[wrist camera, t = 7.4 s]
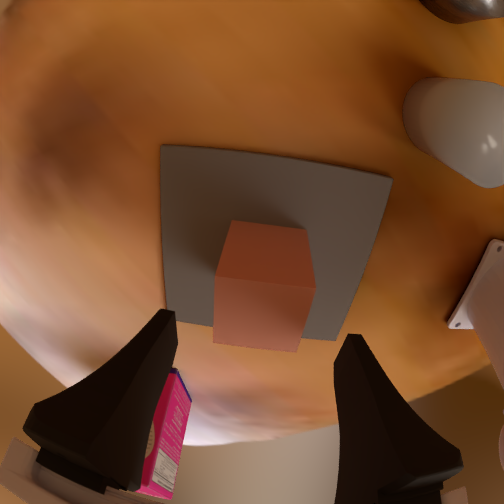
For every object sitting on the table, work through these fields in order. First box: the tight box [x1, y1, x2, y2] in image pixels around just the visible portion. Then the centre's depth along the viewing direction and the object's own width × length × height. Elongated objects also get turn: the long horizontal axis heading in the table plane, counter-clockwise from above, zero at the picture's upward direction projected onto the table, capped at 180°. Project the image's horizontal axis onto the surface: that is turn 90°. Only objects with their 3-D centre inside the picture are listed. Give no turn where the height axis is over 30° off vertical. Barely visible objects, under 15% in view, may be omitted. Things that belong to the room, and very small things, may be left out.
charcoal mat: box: [160, 144, 393, 341], centre depth 17 cm, size 12×12×1 cm
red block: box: [213, 220, 316, 352], centre depth 15 cm, size 4×4×5 cm
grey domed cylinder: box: [403, 77, 504, 188], centre depth 10 cm, size 4×4×5 cm
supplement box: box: [135, 368, 192, 500], centre depth 21 cm, size 6×6×12 cm
